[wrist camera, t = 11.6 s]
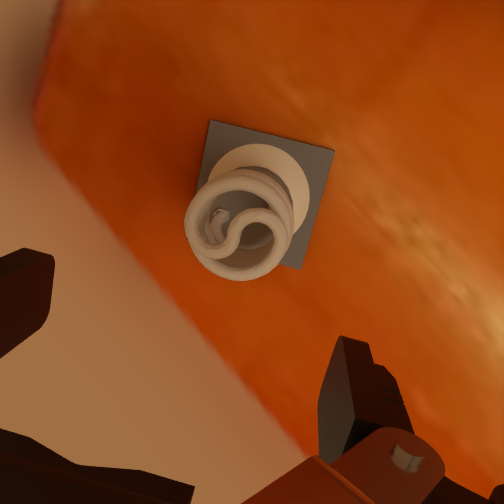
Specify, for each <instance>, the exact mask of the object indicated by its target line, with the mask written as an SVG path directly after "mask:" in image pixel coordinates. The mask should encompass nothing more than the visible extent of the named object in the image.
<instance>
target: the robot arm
mask: <svg viewBox="0 0 504 504" xmlns="http://www.w3.org/2000/svg"><path fill="white" fill-rule="evenodd" d="M54 269H55V260H54V257H53V256H52V255H50V254H46V253H42V252H39V251H35V250H32V249H28V248H21V249H19V250H17V251H14V252H12V253H10V254H7V255H5V256H3V257H0V358H2V357H3V356H4V355H6V354H7V353H8V352H9V351H11V350H12V349H13V348H15V347H16V346H17V345H19V344H20V343H21V342H23V341H24V340H25V339H27V338H28V337H29V336H31V335H32V334H33V333H35V332H36V331H37V330H39V329H40V328H41V327H42V325H43V324H44V322H45V321H46V319H47V316H48V314H49V310H50V303H51V295H52V286H53V278H54ZM403 404H404V402H403V399H402V396H401V395H400V390H399V388H398V385H397V382H396V379H395V378H394V377H393V376H392V375H391V374H390V372H389V371H388V370H387V369H386V368H385V367H384V366H381V365H378V364H374V362H373V358H372V355H371V351H370V347H369V344H368V343H366V342H363V341H359V340H355V339H352V338H348V337H345V336H339V338H338V340H337V342H336V345H335V348H334V351H333V354H332V357H331V360H330V363H329V366H328V369H327V372H326V375H325V378H324V381H323V384H322V387H321V390H320V395H319V400H318V436H319V456H318V455H314V456H311V457H310V458H308V459H306V460H305V461H304V462H302V463H301V464H299V465H298V466H296V467H295V468H293V469H292V470H290V471H289V472H287V473H286V474H284V475H283V476H281V477H280V478H278V479H277V480H275V481H274V482H272V483H271V484H269V485H268V486H266V487H265V488H264V489H262V490H261V491H259V492H258V493H257V494H255V495H253V496H252V497H250V498H249V499H247V500H246V501H244V502H243V503H241V504H504V484H502V485H498V486H497V487H495V488H494V490H493V491H492V493H491V495H490V497H489V499H486V498H484V497H482V496H480V495H478V494H476V493H474V492H472V491H470V490H468V489H466V488H464V487H462V486H460V485H459V484H457V483H455V482H453V481H451V480H450V479H448V478H447V477H445V476H444V474H445V466H444V463H443V461H442V459H441V457H440V456H439V454H438V453H437V452H436V451H435V450H434V449H433V448H432V447H431V446H430V445H429V444H428V443H427V442H425V441H424V440H423V439H421V438H419V437H418V436H416V435H415V434H414V431H413V428H412V425H411V422H410V419H409V416H408V414H407V411H406V408H405V405H403ZM194 489H195V486H192V485H188V484H185V483H182V482H178V481H175V480H171V479H168V478H165V477H161V476H158V475H155V474H152V473H148V472H145V471H141V470H131V469H119V468H106V467H95V466H83V465H78V464H75V463H73V462H71V461H69V460H67V459H66V458H64V457H62V456H60V455H59V454H57V453H55V452H54V451H52V450H50V449H49V448H47V447H45V446H43V445H41V444H40V443H38V442H37V441H35V440H33V439H32V438H30V437H26V436H24V435H20V434H17V433H14V432H10V431H7V430H3V429H0V504H191V500H192V496H193V493H194Z"/></svg>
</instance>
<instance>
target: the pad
mask: <svg viewBox="0 0 504 504" xmlns="http://www.w3.org/2000/svg"><path fill="white" fill-rule="evenodd" d="M334 152H335V151H334V150H330V149H326V148H322V147H318V146H314V145H310V144H306V143H302V142H298V141H294V140H291V139H287V138H283V137H279V136H275V135H271V134H267V133H263V132H259V131H255V130H251V129H247V128H243V127H239V126H235V125H231V124H227V123H223V122H219V121H215V120H210V125H209V130H208V135H207V139H206V144H205V149H204V154H203V159H202V164H201V169H200V174H199V179H198V184H197V189H196V194H197V192H198V191H199V190H200V189H201V188H202V187H203V186H204V185H205V184H206V183H207V182H209V181H210V180H211V179H213V178H214V177H216V176H218V175H220V174H222V173H225V172H228V171H232V170H234V169H236V168H239V167H246V166H259V167H264V168H268V169H269V170H271V171H272V172H274V173H275V174H277V175H278V176H279V177H280V178H281V179H282V180H283V182H284V183H285V184H286V185H287V187H288V189H289V192H290V195H291V198H292V201H293V214H294V232H293V236H292V239H291V242H290V245H289V248H288V249H287V251H286V253H285V254H284V256H283V258H282V259H281V261H280V262H279V264H281V265H285V266H288V267H292V268H296V269H300V270H301V267H302V263H303V260H304V256H305V253H306V250H307V246H308V243H309V239H310V236H311V232H312V229H313V225H314V222H315V218H316V215H317V211H318V208H319V204H320V201H321V197H322V194H323V190H324V187H325V183H326V180H327V176H328V173H329V169H330V166H331V163H332V159H333V156H334ZM196 194H195V195H196ZM209 222H210V220H209ZM210 224H211V223H210ZM186 239H187V240H188V238H186Z"/></svg>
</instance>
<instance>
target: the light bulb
mask: <svg viewBox="0 0 504 504" xmlns="http://www.w3.org/2000/svg"><path fill="white" fill-rule="evenodd" d="M209 220H210V222H209ZM210 223H211V224H210ZM184 227H185V234H186V236H187V238H188V241H189V244H190V246H191V249H192V250H193V252H194V254H195V255H196V257H197V259H198V260H199V261H200V262H201V263H202V264H203V265H204V266H205V267H206V268H207V269H208V270H209V271H211V272H213V273H214V274H216V275H218V276H220V277H223V278H226V279H229V280H236V281H246V280H252V279H256V278H258V277H260V276H263V275H265V274H267V273H269V272H270V271H271V270H272V269H273V268H274V267H276V266H277V265H278V264H279V262H280V261H281V259H282V258H283V256H284V254H285V253H286V251H287V249H288V248H289V245H290V242H291V239H292V236H293V232H294V214H293V201H292V198H291V195H290V192H289V189H288V187H287V185H286V184H285V183H284V182H283V180H282V179H281V178H280V177H279V176H278V175H277V174H275V173H274V172H272V171H271V170H269V169H268V168H264V167H259V166H246V167H239V168H236V169H234V170H232V171H228V172H225V173H222V174H220V175H218V176H216V177H214V178H213V179H211V180H210V181H209V182H207V183H206V184H205V185H204V186H203V187H202V188H201V189H200V190H199V191H198V192H197V194H196V195H195V197H194V198H193V200H192V201H191V203H190V205H189V207H188V209H187V212H186V214H185V219H184Z"/></svg>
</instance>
